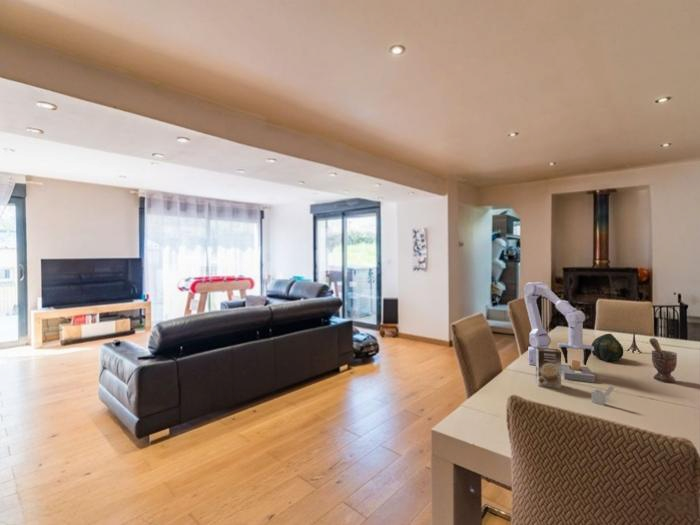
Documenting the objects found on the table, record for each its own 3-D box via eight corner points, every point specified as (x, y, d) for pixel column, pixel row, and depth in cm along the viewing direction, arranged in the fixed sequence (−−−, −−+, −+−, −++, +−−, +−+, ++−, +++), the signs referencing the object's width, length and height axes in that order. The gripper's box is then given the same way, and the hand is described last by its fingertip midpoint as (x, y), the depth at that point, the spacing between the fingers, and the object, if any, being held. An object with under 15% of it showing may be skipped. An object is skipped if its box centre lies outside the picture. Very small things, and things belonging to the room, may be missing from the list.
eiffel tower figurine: (652, 353, 204) (652, 331, 204) (649, 357, 197) (649, 333, 197) (620, 348, 215) (620, 327, 215) (617, 351, 208) (617, 330, 208)
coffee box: (538, 386, 153) (537, 350, 153) (535, 381, 159) (535, 347, 159) (561, 388, 150) (561, 352, 150) (558, 383, 156) (557, 348, 156)
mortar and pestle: (671, 386, 152) (671, 341, 151) (646, 380, 159) (646, 337, 159) (679, 381, 158) (679, 337, 158) (655, 375, 165) (655, 334, 165)
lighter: (591, 402, 136) (591, 382, 136) (592, 400, 138) (592, 380, 137) (613, 407, 131) (613, 386, 131) (614, 406, 132) (614, 385, 132)
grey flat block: (564, 379, 162) (564, 372, 162) (559, 370, 175) (559, 363, 175) (595, 382, 157) (595, 375, 157) (587, 373, 170) (587, 366, 170)
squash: (589, 351, 189) (610, 332, 186) (582, 345, 203) (602, 327, 199) (612, 370, 185) (635, 351, 181) (604, 363, 199) (625, 345, 195)
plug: (572, 373, 167) (572, 361, 167) (571, 370, 170) (571, 358, 170) (580, 374, 165) (580, 361, 165) (578, 371, 169) (578, 359, 169)
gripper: (559, 336, 167) (559, 364, 167) (595, 339, 161) (595, 367, 161) (557, 333, 173) (557, 360, 173) (591, 335, 167) (591, 363, 168)
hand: (575, 363), depth 168 cm, fingers open, 7 cm apart
